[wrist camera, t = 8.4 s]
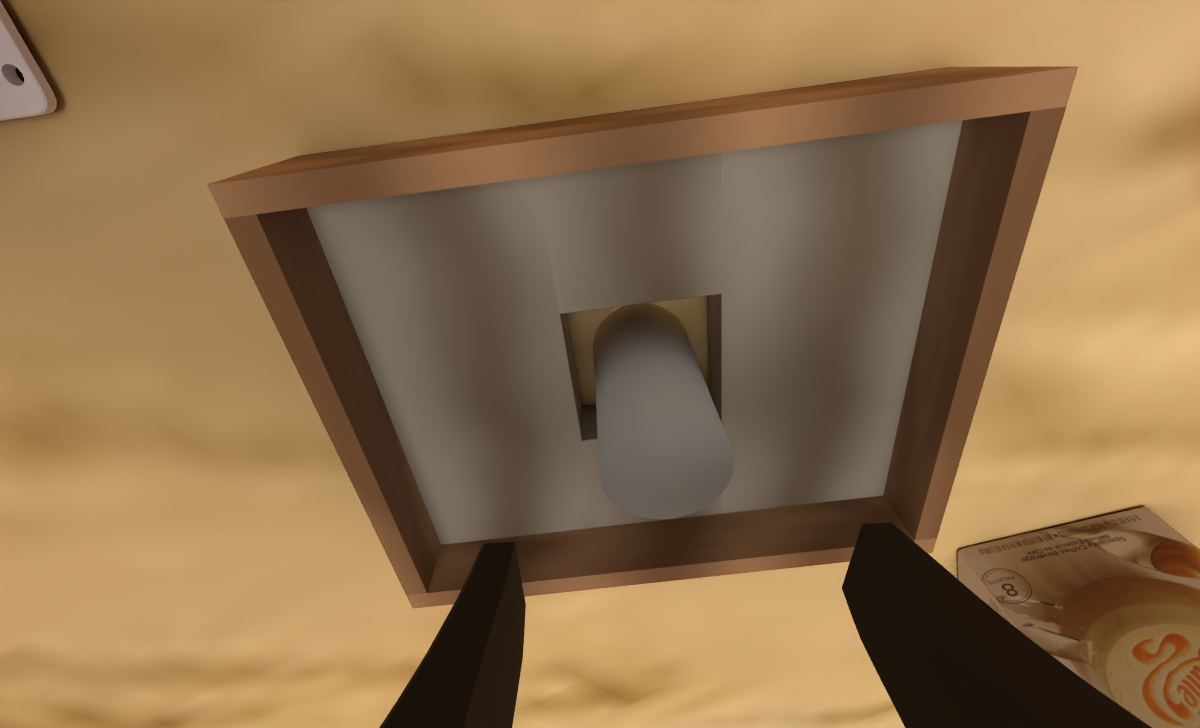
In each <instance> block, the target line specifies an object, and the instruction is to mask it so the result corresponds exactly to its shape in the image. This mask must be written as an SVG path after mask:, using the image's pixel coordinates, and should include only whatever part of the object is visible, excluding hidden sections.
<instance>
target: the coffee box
mask: <svg viewBox="0 0 1200 728" xmlns="http://www.w3.org/2000/svg"><path fill="white" fill-rule="evenodd" d="M958 580H959V581H960V582H961V583H963V584H964V585H965V586H966V587H967V588H968V589H970V590H971V591H972V592H973V593H974V594H976V595H977V596H978V597H979V598H980V599H982V600H983V601H984V602H985V603H986V604H988V605H989V606H990V607H991V608H992V609H994V610H995V611H996V612H997V613H998V614H1000V615H1001V616H1002V617H1003V618H1005V619H1006V620H1007V621H1008V622H1010V623H1011V624H1012V625H1013V626H1015V627H1016V628H1017V629H1018V630H1020V631H1021V632H1022V633H1023V634H1025V635H1026V636H1027V637H1028V638H1030V639H1031V640H1032V641H1033V642H1035V643H1036V644H1037V645H1039V646H1040V647H1041V648H1043V649H1044V650H1045V651H1047V652H1048V653H1049V654H1050V655H1052V656H1053V657H1054V658H1056V659H1057V660H1058V661H1060V662H1061V663H1062V664H1063V665H1065V666H1066V667H1067V668H1069V669H1070V670H1071V671H1073V672H1074V673H1075V674H1077V675H1078V676H1079V677H1081V678H1082V679H1084V680H1085V681H1086V682H1088V683H1089V684H1090V685H1092V686H1093V687H1095V688H1096V689H1097V690H1099V691H1100V692H1102V693H1103V694H1104V695H1106V696H1107V697H1109V698H1110V699H1112V700H1113V701H1114V702H1116V703H1117V704H1119V705H1120V706H1122V707H1123V708H1125V709H1126V710H1127V711H1129V712H1130V713H1132V714H1133V715H1135V716H1136V717H1137V718H1139V719H1140V720H1142V721H1143V722H1145V723H1146V724H1147V725H1149V726H1150V727H1152V728H1200V549H1198V548H1197V547H1196V546H1195V545H1193V544H1192V543H1191V542H1189V541H1188V540H1187V539H1186V538H1184V537H1183V536H1182V535H1181V534H1179V533H1178V532H1177V531H1176V530H1174V529H1173V528H1172V527H1171V526H1169V525H1168V524H1167V523H1165V522H1164V521H1163V520H1162V519H1160V518H1159V517H1158V516H1157V515H1156V514H1155V513H1153V512H1152V511H1151V510H1150V509H1149V508H1145V507H1141V508H1137V509H1132V510H1128V511H1123V512H1119V513H1115V514H1110V515H1106V516H1101V517H1097V518H1092V519H1088V520H1083V521H1079V522H1075V523H1071V524H1067V525H1062V526H1058V527H1053V528H1049V529H1044V530H1040V531H1036V532H1031V533H1027V534H1022V535H1018V536H1013V537H1009V538H1005V539H1001V540H996V541H992V542H987V543H983V544H979V545H974V546H970V547H967V548H963V549H960V550H959V551H958Z"/></svg>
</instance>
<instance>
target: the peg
mask: <svg viewBox="0 0 1200 728" xmlns="http://www.w3.org/2000/svg"><path fill="white" fill-rule="evenodd" d="M593 348H594V371H595V392H596V413H597V433H598V454H599V475H600V481H601V485H602V487H603V490H604V492H605V493H606V495H607V496H608V497H609V499H610V500H611V501H612V502H613V503H614V504H615V505H617V506H618V507H619V508H621V509H622V510H624V511H626V512H628V513H631V514H633V515H636V516H640V517H643V518H650V519H672V518H678V517H682V516H686V515H689V514H692V513H694V512H697V511H699V510H701V509H703V508H705V507H706V506H708V505H709V504H711V503H712V502H713V501H715V500H716V499H717V498H718V497H719V496H720V495H721V494H722V493H723V492H724V490H725V489H726V487H727V486H728V484H729V482H730V480H731V478H732V475H733V472H734V454H733V450H732V448H731V445H730V443H729V440H728V438H727V435H726V433H725V430H724V428H723V425H722V423H721V420H720V418H719V415H718V413H717V410H716V408H715V405H714V403H713V400H712V398H711V395H710V393H709V390H708V388H707V385H706V383H705V380H704V378H703V375H702V372H701V370H700V367H699V365H698V362H697V360H696V357H695V355H694V352H693V350H692V347H691V345H690V342H689V340H688V337H687V335H686V332H685V330H684V327H683V326H682V324H681V322H680V321H679V320H678V318H677V317H676V316H675V315H674V314H672V313H671V312H669V311H668V310H666V309H664V308H662V307H659V306H656V305H651V304H635V305H630V306H626V307H623V308H621V309H619V310H617V311H615V312H614V313H612V314H611V315H610V316H608V317H607V318H606V319H605V320H604V321H603V323H602V324H601V325H600V327H599V329H598V331H597V333H596V335H595V339H594V345H593Z"/></svg>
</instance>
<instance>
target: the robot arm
mask: <svg viewBox="0 0 1200 728" xmlns="http://www.w3.org/2000/svg"><path fill="white" fill-rule="evenodd" d="M16 67H17V68H18V69H19V70H20V72H21V73H22V74H23V77H24V82H22V81H21V80H20V79H19V78H18V76H17V74H16V71H15V69H16ZM56 107H57V100H56V98H55V95H54V93H53V91H52V89H51V87H50V86H49V84H48V82H47V80H46V79H45V77H44V75H43V73H42V72H41V70H40V68H39V67H38V65H37V63H36V61H35V60H34V58H33V56H32V54H31V53H30V51H29V49H28V48H27V46H26V44H25V42H24V41H23V39H22V37H21V35H20V34H19V32H18V30H17V29H16V27H15V25H14V23H13V22H12V20H11V18H10V16H9V15H8V13H7V11H6V10H5V8H4V6H3V4H2V3H1V1H0V121H2V120H10V119H17V118H24V117H31V116H38V115H45V114H49V113H52V112H54V110H55V109H56ZM842 590H843V592H844V595H845V598H846V601H847V604H848V606H849V609H850V612H851V615H852V618H853V620H854V623H855V625H856V628H857V631H858V633H859V636H860V638H861V640H862V642H863V645H864V647H865V649H866V651H867V653H868V655H869V657H870V659H871V661H872V663H873V665H874V667H875V669H876V671H877V673H878V675H879V677H880V679H881V681H882V683H883V685H884V687H885V689H886V691H887V693H888V694H889V696H890V698H891V700H892V702H893V704H894V706H895V708H896V710H897V712H898V714H899V716H900V718H901V720H902V722H903V724H904V726H905V728H1152V727H1150V726H1149V725H1147V724H1146V723H1145V722H1143V721H1142V720H1140V719H1139V718H1137V717H1136V716H1135V715H1133V714H1132V713H1130V712H1129V711H1127V710H1126V709H1125V708H1123V707H1122V706H1120V705H1119V704H1117V703H1116V702H1114V701H1113V700H1112V699H1110V698H1109V697H1107V696H1106V695H1104V694H1103V693H1102V692H1100V691H1099V690H1097V689H1096V688H1095V687H1093V686H1092V685H1090V684H1089V683H1088V682H1086V681H1085V680H1084V679H1082V678H1081V677H1079V676H1078V675H1077V674H1075V673H1074V672H1073V671H1071V670H1070V669H1069V668H1067V667H1066V666H1065V665H1063V664H1062V663H1061V662H1060V661H1058V660H1057V659H1056V658H1054V657H1053V656H1052V655H1050V654H1049V653H1048V652H1047V651H1045V650H1044V649H1043V648H1041V647H1040V646H1039V645H1037V644H1036V643H1035V642H1033V641H1032V640H1031V639H1030V638H1028V637H1027V636H1026V635H1025V634H1023V633H1022V632H1021V631H1020V630H1018V629H1017V628H1016V627H1015V626H1013V625H1012V624H1011V623H1010V622H1008V621H1007V620H1006V619H1005V618H1003V617H1002V616H1001V615H1000V614H998V613H997V612H996V611H995V610H994V609H992V608H991V607H990V606H989V605H988V604H986V603H985V602H984V601H983V600H982V599H980V598H979V597H978V596H977V595H976V594H974V593H973V592H972V591H971V590H970V589H968V588H967V587H966V586H965V585H964V584H963V583H961V582H960V581H959V580H958V579H957V578H956V577H954V576H953V575H952V574H951V573H950V572H949V571H947V570H946V569H945V568H944V567H943V566H942V565H940V564H939V563H938V562H937V561H936V560H935V559H933V558H932V557H931V556H930V555H929V554H928V553H927V552H925V551H924V550H923V549H922V548H921V547H920V546H918V545H917V544H916V543H915V542H914V541H913V540H911V539H910V538H909V537H908V536H907V535H906V534H904V533H903V532H902V531H901V530H900V529H899V528H897V527H896V526H895V525H894V524H893V523H891V522H888V523H868V524H862V525H861V529H860V532H859V535H858V538H857V541H856V545H855V548H854V551H853V554H852V557H851V560H850V564H849V567H848V570H847V573H846V576H845V580H844V583H843V586H842ZM525 606H526V604H525V598H524V592H523V586H522V580H521V574H520V568H519V562H518V556H517V550H516V544H515V542H499V543H485V544H484V545H483V546H482V547H481V548H480V550H479V553H478V555H477V558H476V560H475V562H474V564H473V566H472V569H471V571H470V573H469V575H468V577H467V579H466V581H465V583H464V585H463V587H462V589H461V591H460V593H459V595H458V597H457V599H456V601H455V603H454V605H453V607H452V609H451V611H450V613H449V614H448V616H447V618H446V620H445V622H444V623H443V625H442V627H441V629H440V631H439V632H438V634H437V636H436V638H435V640H434V641H433V643H432V645H431V647H430V648H429V650H428V652H427V654H426V655H425V657H424V659H423V660H422V662H421V663H420V665H419V667H418V668H417V670H416V672H415V673H414V675H413V676H412V678H411V680H410V681H409V683H408V684H407V686H406V688H405V689H404V691H403V693H402V694H401V696H400V697H399V699H398V700H397V702H396V704H395V705H394V707H393V708H392V710H391V711H390V713H389V714H388V716H387V717H386V719H385V720H384V722H383V723H382V725H381V726H380V728H512V724H513V717H514V711H515V705H516V698H517V691H518V685H519V678H520V672H521V665H522V658H523V643H524V626H525Z"/></svg>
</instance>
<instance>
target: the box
mask: <svg viewBox="0 0 1200 728" xmlns="http://www.w3.org/2000/svg"><path fill="white" fill-rule="evenodd" d="M1077 69H1078V67H948V68H941V69H933V70H926V71H919V72H911V73H904V74H897V75H889V76H882V77H875V78H867V79H860V80H853V81H845V82H838V83H831V84H823V85H816V86H808V87H801V88H794V89H786V90H779V91H772V92H764V93H757V94H750V95H742V96H735V97H728V98H720V99H713V100H706V101H698V102H691V103H684V104H676V105H669V106H662V107H654V108H647V109H640V110H632V111H625V112H618V113H610V114H603V115H596V116H588V117H581V118H574V119H566V120H559V121H552V122H544V123H537V124H530V125H522V126H515V127H508V128H500V129H493V130H486V131H478V132H471V133H464V134H456V135H449V136H442V137H434V138H427V139H420V140H412V141H405V142H398V143H390V144H383V145H376V146H368V147H361V148H354V149H346V150H339V151H332V152H324V153H317V154H310V155H302V156H297V157H294V158H291V159H287V160H284V161H281V162H278V163H275V164H271V165H268V166H265V167H262V168H259V169H255V170H252V171H249V172H246V173H243V174H239V175H236V176H233V177H230V178H227V179H223V180H220V181H217V182H214V183H211V184H207V185H208V187H209V189H210V191H211V193H212V195H213V197H214V199H215V201H216V203H217V205H218V207H219V209H220V212H221V214H222V216H223V218H224V220H225V222H226V224H227V226H228V228H229V230H230V232H231V234H232V236H233V238H234V240H235V242H236V245H237V247H238V249H239V251H240V253H241V255H242V257H243V259H244V261H245V263H246V265H247V267H248V269H249V271H250V273H251V275H252V278H253V280H254V282H255V284H256V286H257V288H258V290H259V292H260V294H261V296H262V298H263V300H264V302H265V304H266V306H267V309H268V311H269V313H270V315H271V317H272V319H273V321H274V323H275V325H276V327H277V329H278V331H279V333H280V335H281V337H282V339H283V342H284V344H285V346H286V348H287V350H288V352H289V354H290V356H291V358H292V360H293V362H294V364H295V366H296V368H297V370H298V372H299V375H300V377H301V379H302V381H303V383H304V385H305V387H306V389H307V391H308V393H309V395H310V397H311V399H312V401H313V403H314V406H315V408H316V410H317V412H318V414H319V416H320V418H321V420H322V422H323V424H324V426H325V428H326V430H327V432H328V434H329V436H330V439H331V441H332V443H333V445H334V447H335V449H336V451H337V453H338V455H339V457H340V459H341V461H342V463H343V465H344V467H345V470H346V472H347V474H348V476H349V478H350V480H351V482H352V484H353V486H354V488H355V490H356V492H357V494H358V496H359V498H360V500H361V503H362V505H363V507H364V509H365V511H366V513H367V515H368V517H369V519H370V521H371V523H372V525H373V527H374V529H375V531H376V533H377V536H378V538H379V540H380V542H381V544H382V546H383V548H384V550H385V552H386V554H387V556H388V558H389V560H390V562H391V564H392V567H393V569H394V571H395V573H396V575H397V577H398V579H399V581H400V583H401V585H402V587H403V589H404V591H405V593H406V595H407V597H408V600H409V602H410V604H411V606H412V608H422V607H431V606H441V605H450V604H454V603H455V601H456V599H457V597H458V595H459V593H460V591H461V589H462V587H463V585H464V583H465V581H466V579H467V577H468V575H469V573H470V571H471V569H472V566H473V564H474V562H475V560H476V558H477V555H478V553H479V550H480V548H481V547H482V546H483V545H484V544H485V543H499V542H515V544H516V550H517V556H518V562H519V568H520V574H521V580H522V586H523V592H524V596H533V595H543V594H552V593H561V592H571V591H580V590H589V589H598V588H608V587H617V586H626V585H636V584H645V583H654V582H663V581H673V580H682V579H691V578H701V577H710V576H719V575H728V574H738V573H747V572H756V571H766V570H775V569H784V568H793V567H803V566H812V565H821V564H831V563H840V562H849V561H850V560H851V557H852V554H853V551H854V548H855V545H856V541H857V538H858V535H859V532H860V529H861V525H862V524H868V523H888V522H891V523H893V524H894V525H895V526H896V527H897V528H899V529H900V530H901V531H902V532H903V533H904V534H906V535H907V536H908V537H909V538H910V539H911V540H913V541H914V542H915V543H916V544H917V545H918V546H920V547H921V548H922V549H923V550H924V551H925V552H927V553H932V552H933V549H934V546H935V542H936V539H937V536H938V532H939V529H940V526H941V522H942V519H943V516H944V512H945V509H946V506H947V502H948V499H949V496H950V492H951V489H952V486H953V482H954V479H955V476H956V472H957V469H958V466H959V462H960V459H961V456H962V452H963V449H964V446H965V442H966V439H967V436H968V432H969V429H970V426H971V422H972V419H973V416H974V412H975V409H976V406H977V402H978V399H979V396H980V392H981V389H982V386H983V382H984V379H985V376H986V372H987V369H988V366H989V362H990V359H991V356H992V352H993V349H994V346H995V342H996V339H997V336H998V332H999V329H1000V326H1001V322H1002V319H1003V316H1004V312H1005V309H1006V305H1007V302H1008V299H1009V295H1010V292H1011V289H1012V285H1013V282H1014V279H1015V275H1016V272H1017V269H1018V265H1019V262H1020V259H1021V255H1022V252H1023V249H1024V245H1025V242H1026V239H1027V235H1028V232H1029V229H1030V225H1031V222H1032V219H1033V215H1034V212H1035V209H1036V205H1037V202H1038V199H1039V195H1040V192H1041V189H1042V185H1043V182H1044V179H1045V175H1046V172H1047V169H1048V165H1049V162H1050V159H1051V155H1052V152H1053V149H1054V145H1055V142H1056V139H1057V135H1058V132H1059V129H1060V125H1061V122H1062V119H1063V115H1064V112H1065V109H1066V105H1067V102H1068V99H1069V95H1070V92H1071V89H1072V85H1073V82H1074V79H1075V75H1076V72H1077ZM699 296H707V313H708V372H709V393H710V395H711V398H712V400H713V403H714V405H715V408H716V410H717V413H718V415H719V418H720V420H721V423H722V425H723V428H724V430H725V433H726V435H727V438H728V440H729V443H730V445H731V448H732V450H733V454H734V472H733V475H732V478H731V480H730V482H729V484H728V486H727V487H726V489H725V490H724V492H723V493H722V494H721V495H720V496H719V497H718V498H717V499H716V500H715V501H713V502H712V503H711V504H709V505H708V506H706V507H705V508H703V509H701V510H699V511H697V512H694V513H692V514H689V515H686V516H682V517H678V518H672V519H650V518H643V517H640V516H636V515H633V514H631V513H628V512H626V511H624V510H622V509H621V508H619V507H618V506H617V505H615V504H614V503H613V502H612V501H611V500H610V499H609V497H608V496H607V495H606V493H605V492H604V490H603V487H602V485H601V481H600V475H599V454H598V433H597V413H596V405H594V406H586V407H582V406H581V400H580V394H579V388H578V382H577V376H576V370H575V364H574V358H573V352H572V346H571V340H570V334H569V328H568V322H567V316H566V313H570V312H578V311H587V310H595V309H603V308H611V307H619V306H627V305H635V304H643V303H651V302H659V301H667V300H675V299H683V298H691V297H699Z"/></svg>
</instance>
